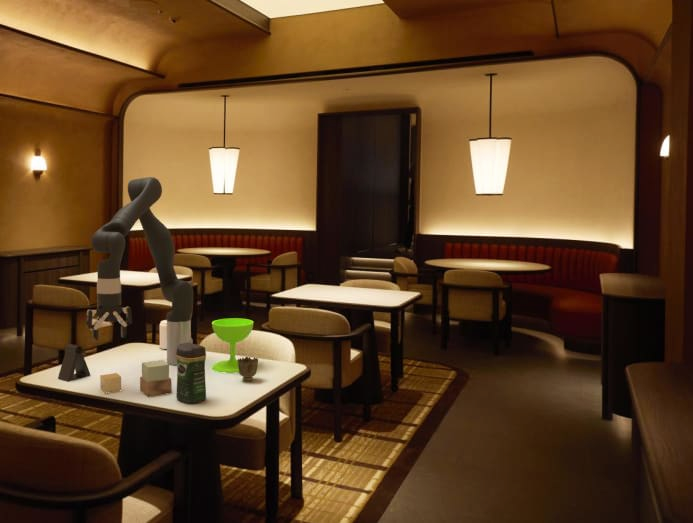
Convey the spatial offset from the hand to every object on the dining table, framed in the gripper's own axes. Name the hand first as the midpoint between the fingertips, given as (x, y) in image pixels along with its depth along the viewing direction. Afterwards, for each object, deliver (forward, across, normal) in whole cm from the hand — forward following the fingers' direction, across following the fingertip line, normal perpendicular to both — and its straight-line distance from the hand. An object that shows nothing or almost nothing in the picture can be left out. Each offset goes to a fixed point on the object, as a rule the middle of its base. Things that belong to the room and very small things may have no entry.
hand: (109, 338), depth 199 cm
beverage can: (+18, -37, -47) cm, 62 cm away
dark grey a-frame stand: (+18, +7, -22) cm, 29 cm away
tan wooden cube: (+18, 0, 0) cm, 18 cm away
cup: (+18, -44, +15) cm, 50 cm away
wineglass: (+18, -47, -4) cm, 51 cm away
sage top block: (+13, -12, +10) cm, 20 cm away
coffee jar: (+18, -19, +24) cm, 36 cm away
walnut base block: (+18, -12, +10) cm, 24 cm away
